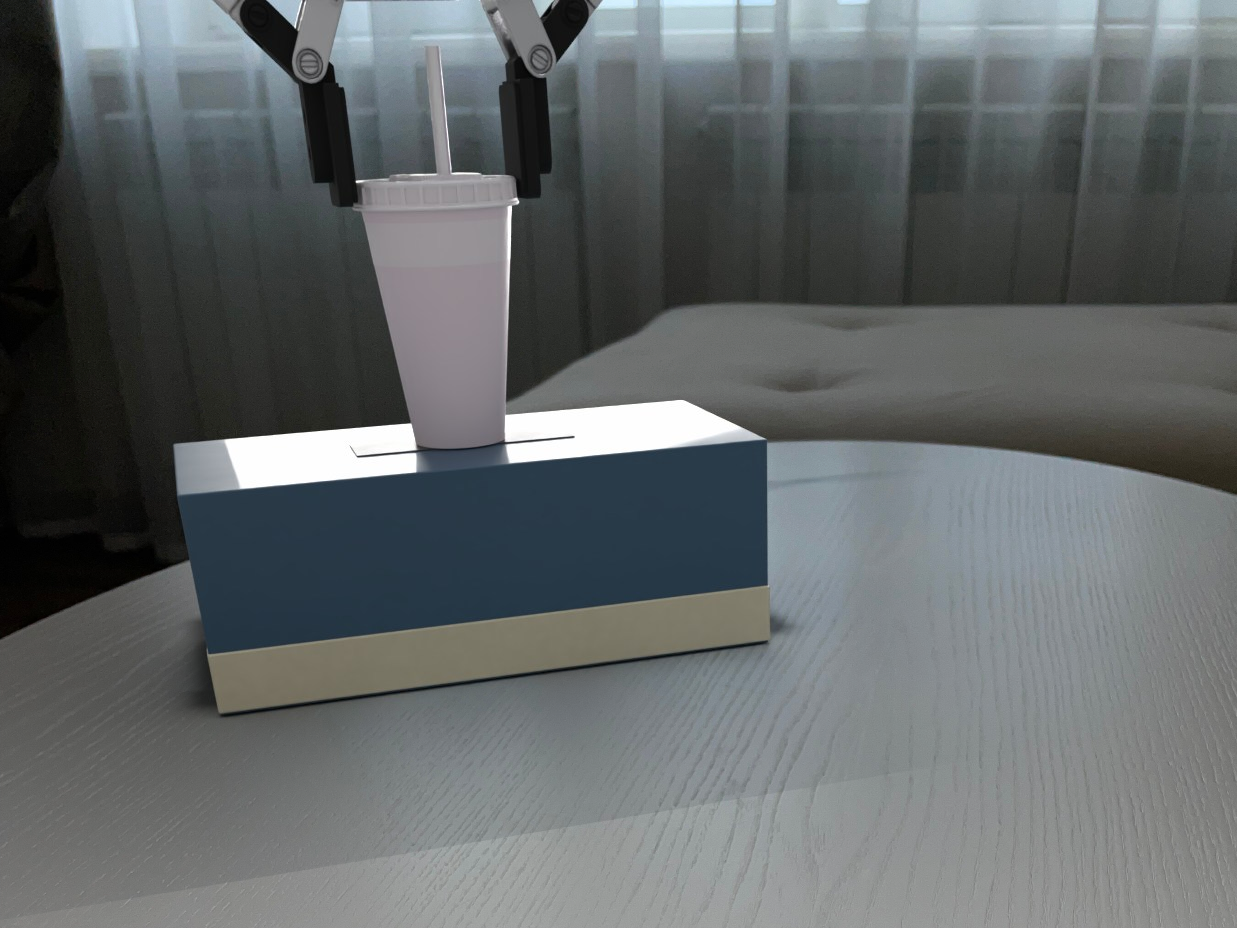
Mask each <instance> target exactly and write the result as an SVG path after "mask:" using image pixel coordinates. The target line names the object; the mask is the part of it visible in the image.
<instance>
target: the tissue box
mask: <svg viewBox="0 0 1237 928" xmlns="http://www.w3.org/2000/svg"><path fill="white" fill-rule="evenodd" d="M172 448H173V450H172V451H173V462H174V474H175V485H176V486H175V487H176V498H177V504H178V508H179V513H180V519H181V525H182V528H183V534H184V539H185V543H186V549H187V554H188V558H189V563H190V568H191V574H192V579H193V584H194V589H195V594H196V598H197V603H198V604H197V605H198V609H199V615H200V619H201V624H202V629H203V634H204V639H205V644H206V655H207V656H206V657H207V662H208V666H209V672H210V677H211V682H212V688H213V692H214V696H215V701H216V706H217V711H218V714H220V715H221V716H227V715H234V714H235V715H236V714H242V713H249V712H250V713H251V712H257V711H264V710H272V709H279V708H285V707H287V708H288V707H294V706H301V705H302V706H303V705H309V704H316V703H323V702H331V701H338V700H345V699H355V698H360V697H367V696H368V697H369V696H375V695H384V694H390V693H398V692H405V691H411V690H413V691H414V690H420V689H426V688H427V689H428V688H435V687H443V686H449V685H458V684H465V683H473V682H479V681H488V680H494V679H502V678H508V677H517V676H523V675H524V676H525V675H531V674H532V675H533V674H539V673H546V672H554V671H555V672H556V671H560V670H568V669H576V668H584V667H591V666H599V665H607V664H613V663H622V662H628V661H635V660H643V659H650V658H658V657H666V656H673V655H680V654H687V653H694V652H703V651H710V650H718V649H725V648H732V647H733V648H734V647H740V646H747V645H754V644H761V643H768V642H769V641H770V639H771V592H770V591H771V587H770V585H769V578H768V577H769V561H768V560H769V557H768V556H769V549H768V548H769V547H768V545H769V544H768V543H769V542H768V541H769V539H768V537H769V536H768V535H769V533H768V532H769V531H768V528H769V527H768V440H767V438H764V437H763V436H760V435H758V434H756V433H755V432H752V431H750V430H747V429H745V428H743V427H742V426H739V425H737V424H735V423H732V422H730V421H729V420H726V419H724V418H722V417H720V416H717V415H716V414H714V413H711V412H710V411H707V410H706V409H703V408H701V407H699V406H697V405H695V404H693V403H690V402H688V401H686V400H683V399H679V400H668V401H656V402H644V403H633V404H621V405H610V406H609V405H608V406H599V407H597V406H596V407H586V408H573V409H564V410H563V409H562V410H551V411H539V412H528V413H527V412H526V413H517V414H515V413H514V414H505V439H504V440H502V441H500V442H498V443H494V444H490V445H485V446H479V447H470V448H455V449H441V448H428V447H423V446H419V445H417V444H416V442H415V438H414V434H413V429H412V425H411V423H401V424H388V425H378V426H365V427H355V428H343V429H332V430H331V429H330V430H320V431H319V430H318V431H307V432H295V433H285V434H273V435H262V436H248V437H238V438H225V439H215V440H205V441H204V440H203V441H191V442H179V443H173V445H172Z"/></svg>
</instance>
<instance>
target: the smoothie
mask: <svg viewBox="0 0 1237 928" xmlns="http://www.w3.org/2000/svg"><path fill="white" fill-rule="evenodd" d="M423 49H424V56H425V58H424V59H425V67H426V77H427V86H428V87H427V88H428V97H429V106H430V116H431V117H430V118H431V127H432V136H433V137H432V138H433V147H434V158H435V167H436V173H410V174H406V173H401V174H390V175H389V177H388V178H373V179H361V180H356V185H357V193H358V203H353V207H351V210H353V211H355V212H361V216H362V220H363V223H364V227H365V232H366V236H367V241H368V245H369V251H370V256H371V260H372V265H373V267H374V271H375V275H376V281H377V283H378V288H379V292H380V296H381V302H382V305H383V309H384V314H385V318H386V322H387V327H388V330H389V336H390V340H391V344H392V348H393V352H394V356H395V360H396V366H397V370H398V373H399V378H400V382H401V386H402V390H403V395H404V399H405V403H406V408H407V412H408V416H409V420H410V424H411V425H412V429H413V434H414V438H415V442H416V444H417V445H419V446H423V447H428V448H441V449H455V448H470V447H479V446H485V445H490V444H494V443H498V442H500V441H502V440H504V439H505V415H506V411H507V410H506V409H507V407H506V406H507V376H508V375H507V373H508V345H509V344H508V342H509V341H508V340H509V306H510V305H509V304H510V278H511V277H510V276H511V275H510V274H511V252H512V251H511V250H512V249H511V247H512V245H511V244H512V243H511V242H512V237H511V236H512V210H513V209H512V208H513V207H514V206H518V205H519V204H520V200H519V198H517V189H516V178H515V177H514V176H509V175H506V174H487V175H486V174H482V173H481V172H480V173H479V172H452V163H451V162H452V161H451V152H450V151H451V150H450V142H449V132H448V131H449V130H448V121H447V110H446V102H445V101H446V99H445V91H444V90H445V89H444V79H443V68H442V61H441V60H442V57H441V48H440V45H424V46H423ZM512 206H513V207H512Z"/></svg>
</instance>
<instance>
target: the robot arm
mask: <svg viewBox="0 0 1237 928" xmlns="http://www.w3.org/2000/svg"><path fill="white" fill-rule="evenodd" d="M212 1H213V2H214V3H215V4H216V5H217V6H218V7H219V8H220V9H221V11H222V12H224V13H225V14H226V15H227V16H228V17H229V18H230V19H231V20H232V21H233V22H234V23H235V24H236V25H237V26H238V27H239V28H240V29H241V30H242V32H244V34H245V35H246V36H247V37H248V38H250V39H251V41H253V42H254V43H255V44H256V45H257V46H258V48H260V49H261V50H262V51H263V52H264V53H265V54H266V55H267V56H268V57H269V58H270V59H271V60H272V61H273V62H274V63H275V64H277V65H278V67H279V68H280V69H282V70H283V72H285V73H286V74H287V75H288V76H289V78H290V79H291V80H292V81H293V83H295V84H297V86H298V92H299V101H300V106H301V113H302V114H301V115H302V122H303V128H304V136H305V143H306V150H307V151H306V152H307V155H308V156H307V158H308V164H309V172H310V176H311V181H312V183H313V184H328V190H329V196H330V203H331V205H332V206H334V207H337V208H352V207H353V206H354V203H358V193H357V185H356V181H357V179H356V169H355V162H354V154H353V146H352V138H351V130H350V122H349V113H348V106H347V99H346V98H347V97H346V91H345V88H344V86H340V85H339V82H337V81H336V72H335V66H334V64H333V63H331V62H330V60H331V59H330V58H331V54H332V50H333V46H334V43H335V40H336V39H335V38H336V35H337V32H338V26H339V22H340V18H341V15H342V10H343V7H344V4H345V3H344V2H433V1H435V2H438V1H439V2H443V1H444V2H445V1H446V2H447V1H455V2H456V1H457V2H458V0H300V4H299V7H298V12H297V16H296V19H295V20H296V21H295V25H293V24H292V23H291V22H290V21H289V20H288V19H287V18H286V17H285V16H284V15H283V14H282V13H281V12H280V11H278V9H277V8H276V7H275V6H273V5H272V3H270V2H269V1H268V0H212ZM479 2H480V4H481V7H482V9H483V11H484V13H485V15H486V18H487V20H488V22H489V24H490V27H491V29H492V30H493V33H494V36H495V38H496V40H497V42H498V44H499V46H500V49H501V51H502V53H503V56H504V58H505V60H506V63H504V67H505V80H504V81H502V82H501V83H502V84H500V85H498V102H499V113H500V124H501V137H502V149H503V161H504V173H505V174H504V175H509V176H514V177H515V178H516V189H517V198H518V199H526V200H530V199H531V200H533V199H541V196H542V183H541V181H542V180H541V175H550V174H551V173H552V169H553V151H552V139H551V122H550V109H549V108H550V107H549V95H548V81H547V80H548V79H547V78H548V77H549V76H550V75H552V74H553V73H554V71H555V70H556V65H557V64H558V62H559V61H560V60H561V59H562V57H563V56H564V55H565V53H566V52H567V51H568V49H569V48H570V47H571V45H572V44H573V43H574V41H575V40H576V39H577V37H578V36H579V35H580V33H581V32H582V31H583V30H584V28H585V27H586V25H587V23H588V21H589V19H590V18H591V16H592V15H593V13H594V12H595V10H597V9H598V7H599V6H600V5H601V3H603V0H553V1H551V3H550V4H549V5H548V6H547V8H546V9H545V11H543V13H542V15H541V16H539V13H538V11H537V8H536V6H535V3H534V1H533V0H479Z"/></svg>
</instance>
